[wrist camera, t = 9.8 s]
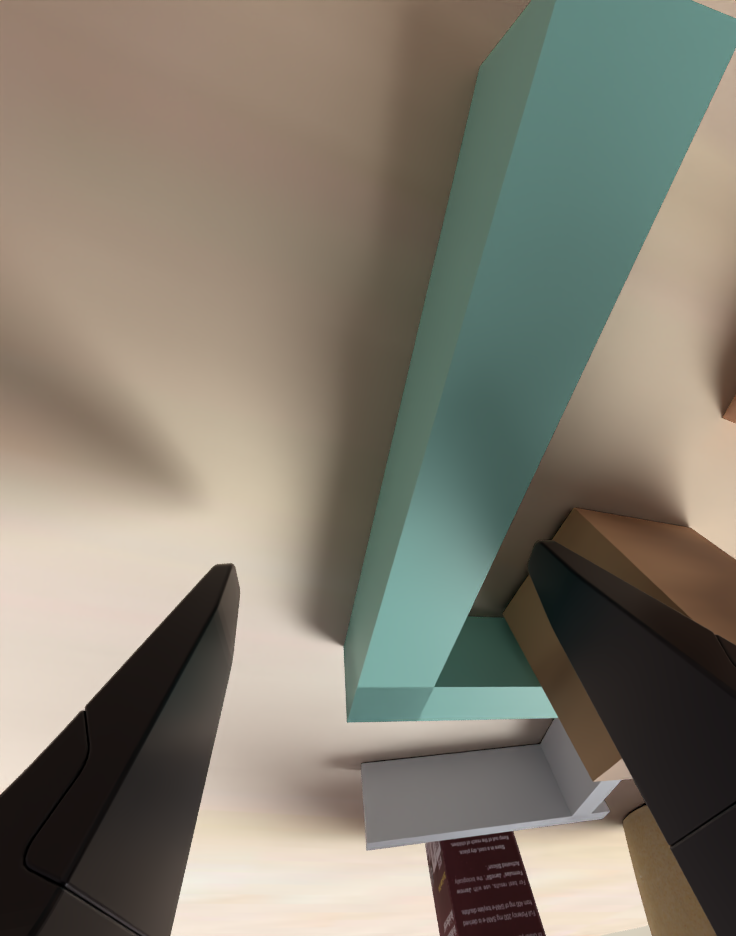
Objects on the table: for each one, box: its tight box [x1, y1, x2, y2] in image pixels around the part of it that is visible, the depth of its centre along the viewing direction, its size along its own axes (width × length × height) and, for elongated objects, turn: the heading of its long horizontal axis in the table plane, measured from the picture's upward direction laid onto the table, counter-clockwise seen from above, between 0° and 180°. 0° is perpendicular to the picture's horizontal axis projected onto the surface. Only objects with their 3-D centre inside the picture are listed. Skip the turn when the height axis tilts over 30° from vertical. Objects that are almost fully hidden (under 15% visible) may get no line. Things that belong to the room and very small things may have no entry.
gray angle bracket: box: [361, 718, 621, 851], centre depth 16 cm, size 12×12×3 cm
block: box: [503, 508, 736, 782], centre depth 11 cm, size 5×5×5 cm
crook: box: [344, 0, 736, 722], centre depth 10 cm, size 9×16×3 cm, turn 170°
